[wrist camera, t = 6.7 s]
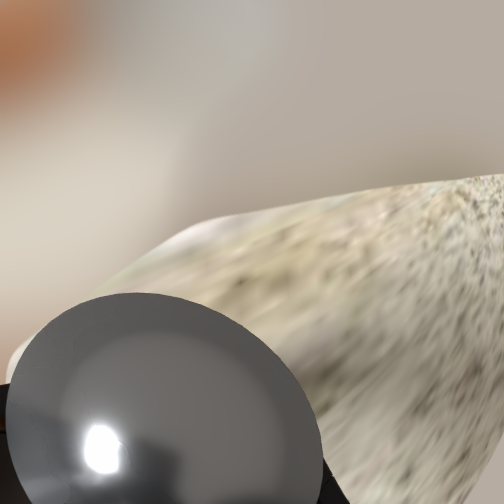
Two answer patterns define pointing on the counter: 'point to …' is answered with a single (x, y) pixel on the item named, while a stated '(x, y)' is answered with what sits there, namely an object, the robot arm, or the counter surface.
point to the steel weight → (158, 410)
